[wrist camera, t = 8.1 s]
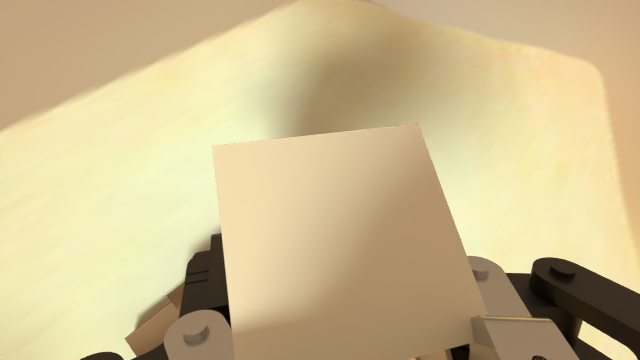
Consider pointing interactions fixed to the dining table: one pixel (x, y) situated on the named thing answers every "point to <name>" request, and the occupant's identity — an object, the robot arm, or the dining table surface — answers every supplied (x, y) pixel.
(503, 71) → the dining table surface
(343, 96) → the dining table surface
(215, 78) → the dining table surface
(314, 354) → the cream block
